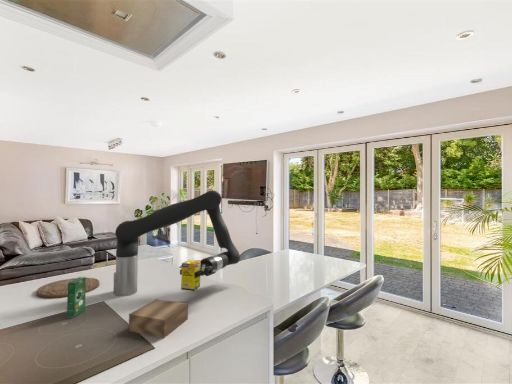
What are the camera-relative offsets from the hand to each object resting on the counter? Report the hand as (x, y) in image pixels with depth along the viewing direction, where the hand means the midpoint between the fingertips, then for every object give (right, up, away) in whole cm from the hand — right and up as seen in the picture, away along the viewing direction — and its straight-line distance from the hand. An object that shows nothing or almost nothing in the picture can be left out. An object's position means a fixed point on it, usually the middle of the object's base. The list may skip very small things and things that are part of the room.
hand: (187, 273), depth 111 cm
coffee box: (-41, -13, -7) cm, 44 cm away
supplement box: (+1, -7, +2) cm, 7 cm away
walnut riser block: (-6, -14, -15) cm, 21 cm away
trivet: (-63, -14, +21) cm, 67 cm away
